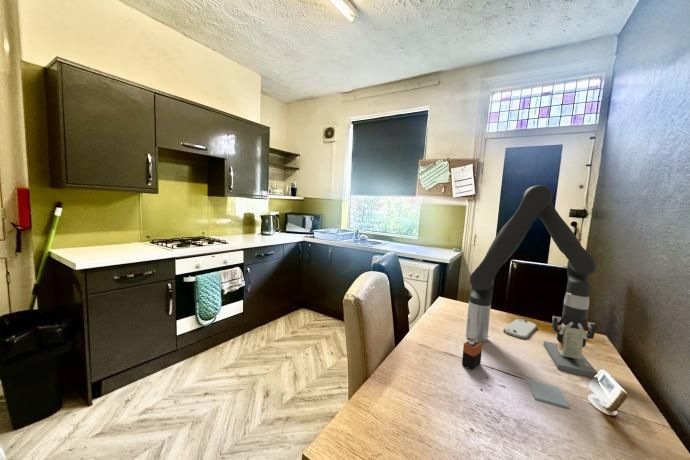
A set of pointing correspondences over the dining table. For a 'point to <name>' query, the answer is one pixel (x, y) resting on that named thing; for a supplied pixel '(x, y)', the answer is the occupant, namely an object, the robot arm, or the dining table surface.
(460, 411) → the dining table surface
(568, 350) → the skincare box
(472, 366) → the battery
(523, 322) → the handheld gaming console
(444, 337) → the dining table surface
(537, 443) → the dining table surface
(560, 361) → the switch panel
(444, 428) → the dining table surface
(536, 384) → the mat
